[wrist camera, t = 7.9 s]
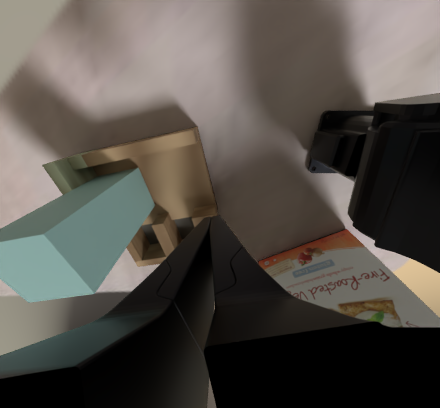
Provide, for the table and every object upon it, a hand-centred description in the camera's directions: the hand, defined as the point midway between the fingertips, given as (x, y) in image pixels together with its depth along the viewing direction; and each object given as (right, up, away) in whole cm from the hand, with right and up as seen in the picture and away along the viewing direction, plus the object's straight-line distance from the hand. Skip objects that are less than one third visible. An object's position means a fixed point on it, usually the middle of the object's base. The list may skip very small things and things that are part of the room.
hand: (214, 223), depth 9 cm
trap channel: (-7, +1, +14) cm, 16 cm away
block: (-11, +3, +12) cm, 17 cm away
